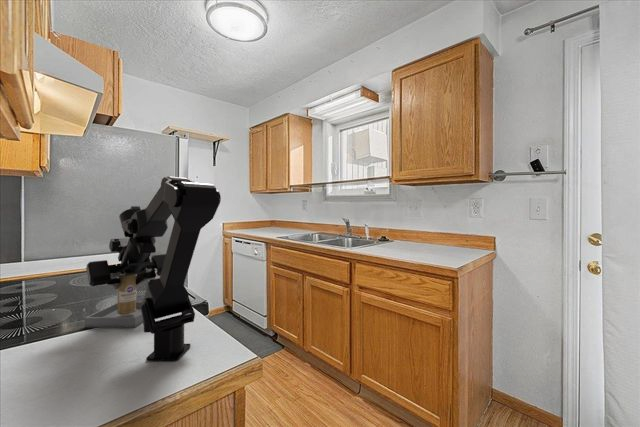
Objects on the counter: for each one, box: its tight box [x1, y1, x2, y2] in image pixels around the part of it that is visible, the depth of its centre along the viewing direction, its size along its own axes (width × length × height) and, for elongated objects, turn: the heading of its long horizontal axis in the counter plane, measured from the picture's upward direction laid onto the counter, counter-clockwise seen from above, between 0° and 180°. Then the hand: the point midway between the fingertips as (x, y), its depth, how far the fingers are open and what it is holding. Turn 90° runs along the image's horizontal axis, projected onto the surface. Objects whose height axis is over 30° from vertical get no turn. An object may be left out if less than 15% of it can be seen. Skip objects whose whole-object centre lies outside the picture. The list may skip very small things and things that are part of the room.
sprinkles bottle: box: [116, 274, 137, 315], centre depth 80 cm, size 5×5×14 cm
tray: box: [84, 301, 143, 329], centre depth 80 cm, size 13×13×2 cm
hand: (125, 286), depth 81 cm, fingers closed on sprinkles bottle, 4 cm apart
